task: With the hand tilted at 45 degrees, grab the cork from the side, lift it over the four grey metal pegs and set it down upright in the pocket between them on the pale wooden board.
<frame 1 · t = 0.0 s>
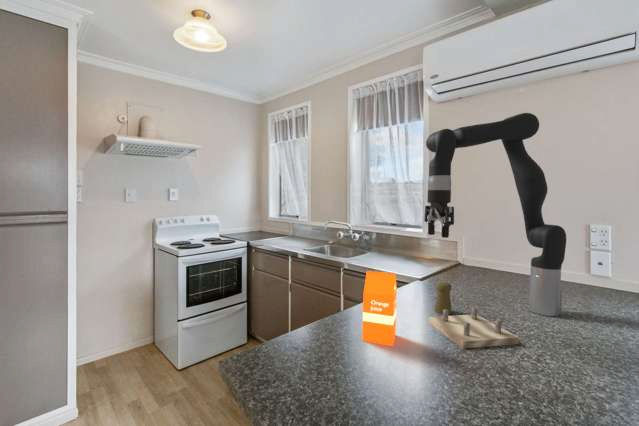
hand: (437, 236, 106), 29 cm above the countertop, tool pointing down, fingers open, 8 cm apart
peg board: (470, 332, 96), on the countertop
cork: (443, 312, 114), on the countertop
orange juice: (379, 338, 92), on the countertop
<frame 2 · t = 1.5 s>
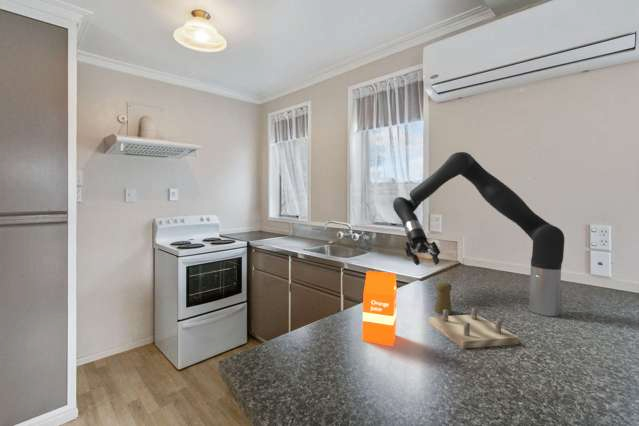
hand: (427, 263, 125), 16 cm above the countertop, tool tilted 45°, fingers open, 8 cm apart
nothing on the countertop moved.
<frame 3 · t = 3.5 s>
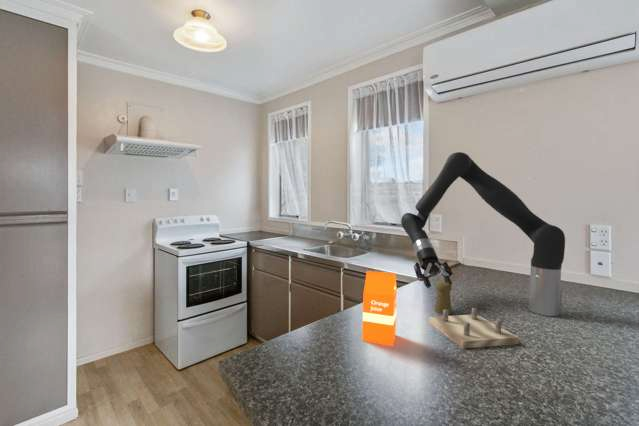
hand: (439, 286, 117), 9 cm above the countertop, tool tilted 45°, fingers open, 8 cm apart
nothing on the countertop moved.
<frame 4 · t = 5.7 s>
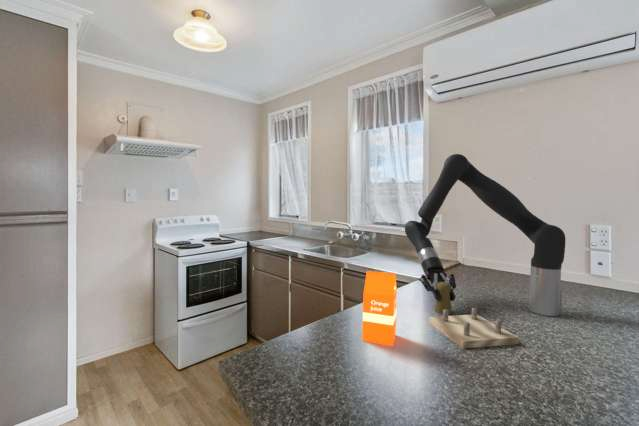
hand: (446, 300, 112), 5 cm above the countertop, tool tilted 45°, fingers closed on cork, 5 cm apart
cork: (443, 312, 114), on the countertop, touching gripper
everything else where it was.
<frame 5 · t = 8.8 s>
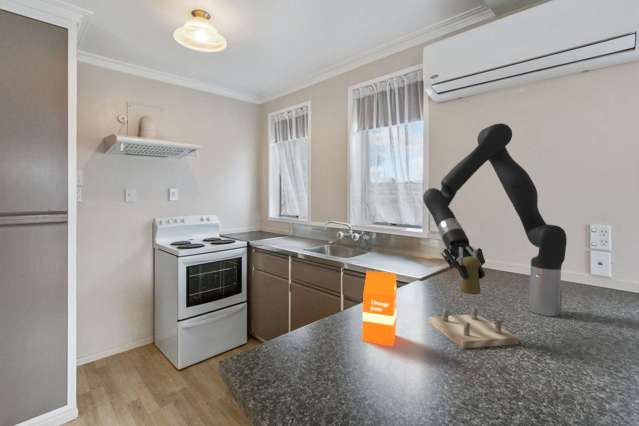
hand: (474, 277, 95), 18 cm above the countertop, tool tilted 45°, fingers closed on cork, 5 cm apart
cork: (469, 292, 97), point 13 cm above the countertop, touching gripper
everything else where it was.
when the fingers open (8 cm above the countertop, at t = 12.1 s): cork drops 1 cm, resting on peg board.
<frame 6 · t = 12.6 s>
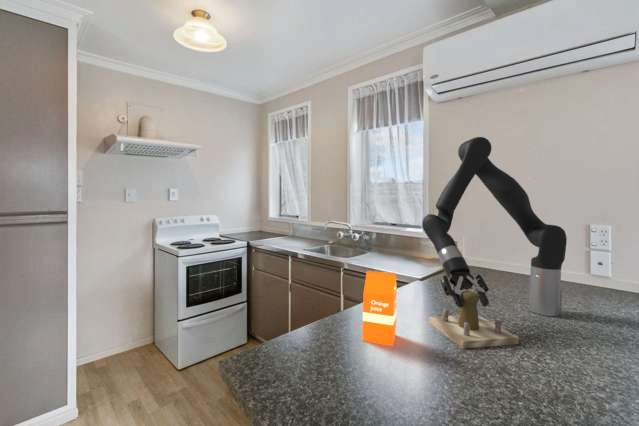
hand: (474, 306, 95), 9 cm above the countertop, tool tilted 45°, fingers open, 8 cm apart
cork: (468, 326, 96), point 2 cm above the countertop, touching peg board
everything else where it was.
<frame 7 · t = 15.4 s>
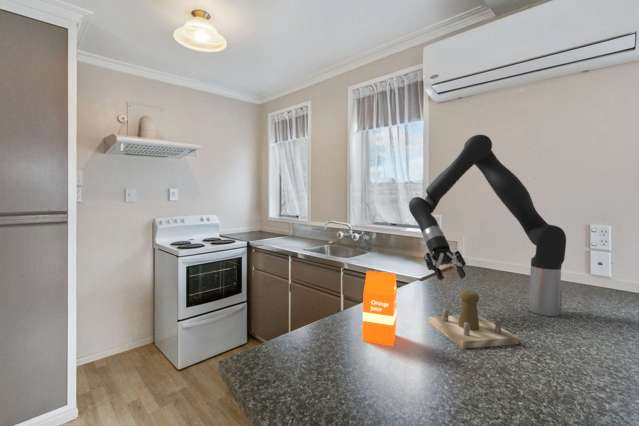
hand: (452, 278, 108), 14 cm above the countertop, tool tilted 40°, fingers open, 8 cm apart
nothing on the countertop moved.
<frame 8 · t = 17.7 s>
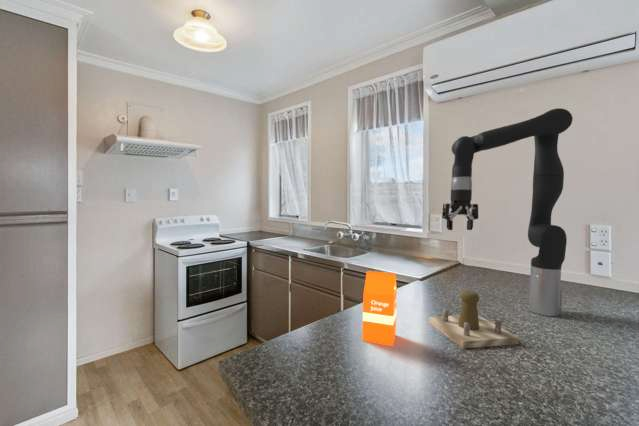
hand: (459, 229, 121), 30 cm above the countertop, tool pointing down, fingers open, 8 cm apart
nothing on the countertop moved.
at the end: cork 0.6 cm off-centre on the peg board, point 1.8 cm above the peg board's base; cork tilted 0°; the gripper is holding nothing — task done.
